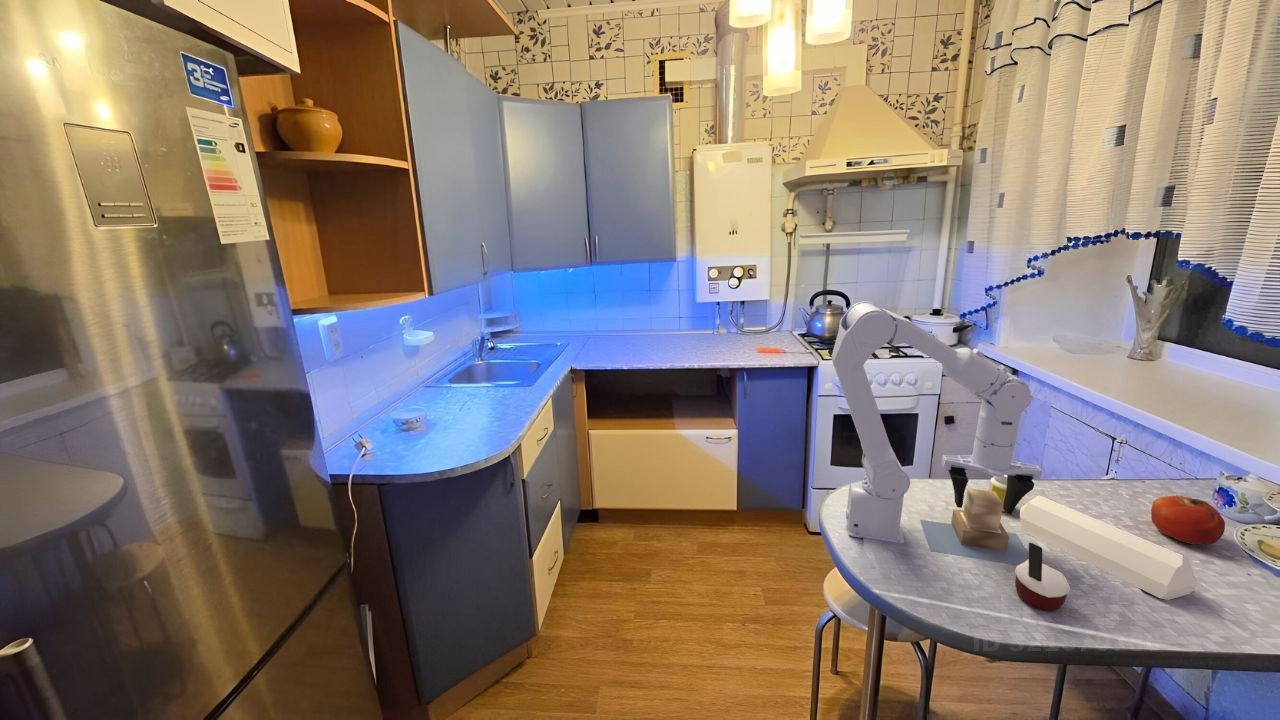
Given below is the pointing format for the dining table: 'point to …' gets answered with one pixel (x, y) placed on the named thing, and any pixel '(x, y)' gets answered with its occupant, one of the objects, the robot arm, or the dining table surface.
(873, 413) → the robot arm
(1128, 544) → the crystal
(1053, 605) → the cocoa
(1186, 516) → the tomato
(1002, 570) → the dining table surface
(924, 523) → the board
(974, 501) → the maple block
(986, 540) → the walnut base block
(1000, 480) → the supplement bottle
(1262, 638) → the dining table surface
